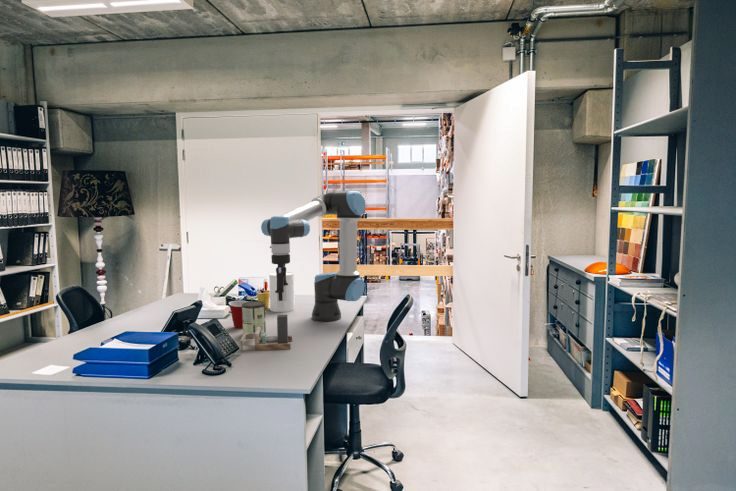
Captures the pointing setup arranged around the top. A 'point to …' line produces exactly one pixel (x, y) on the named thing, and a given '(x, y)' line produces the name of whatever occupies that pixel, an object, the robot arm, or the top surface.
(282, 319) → the striker
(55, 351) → the top surface
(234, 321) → the plastic cup
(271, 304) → the canister
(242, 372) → the top surface
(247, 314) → the coffee can
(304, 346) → the top surface
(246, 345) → the lane
